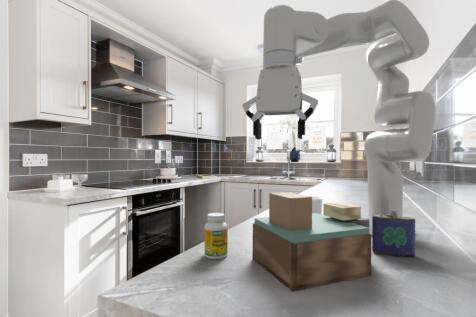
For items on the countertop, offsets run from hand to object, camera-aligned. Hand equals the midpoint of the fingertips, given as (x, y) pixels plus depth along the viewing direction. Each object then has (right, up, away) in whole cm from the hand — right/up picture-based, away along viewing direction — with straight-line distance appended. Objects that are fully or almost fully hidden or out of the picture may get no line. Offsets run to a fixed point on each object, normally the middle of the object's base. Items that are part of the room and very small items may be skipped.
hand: (278, 138), depth 62 cm
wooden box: (+8, -27, -4) cm, 29 cm away
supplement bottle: (-14, -27, +1) cm, 31 cm away
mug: (+13, -28, +25) cm, 39 cm away
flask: (+28, -28, +3) cm, 39 cm away
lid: (+5, -19, -5) cm, 21 cm away
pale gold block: (+14, -17, -2) cm, 22 cm away
